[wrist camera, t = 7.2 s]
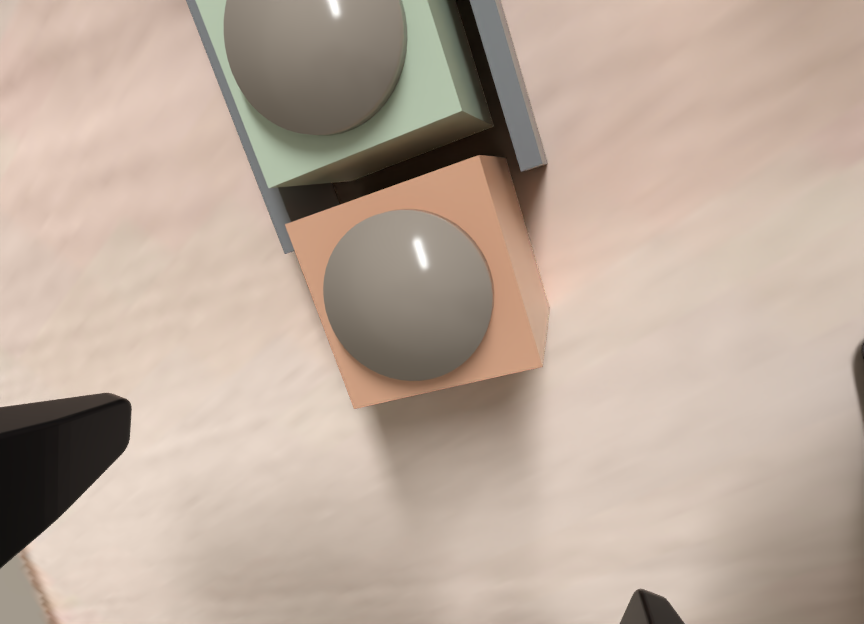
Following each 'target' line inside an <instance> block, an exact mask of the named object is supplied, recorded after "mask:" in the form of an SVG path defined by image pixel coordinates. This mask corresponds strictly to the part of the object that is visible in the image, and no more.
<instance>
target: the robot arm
mask: <svg viewBox="0 0 864 624" xmlns="http://www.w3.org/2000/svg"><path fill="white" fill-rule="evenodd" d="M862 352H863V358H864V343H863V345H862ZM131 410H132V407H131V403H130V402H129V401H128V400H127V399H125V398H123V397H120V396H117V395H114V394H111V393H101V394H94V395H86V396H79V397H72V398H65V399H57V400H50V401H43V402H36V403H28V404H21V405H14V406H7V407H0V568H2V567H3V566H4V565H5V564H6V563H7V562H8V561H10V560H11V559H12V558H13V557H14V556H16V555H17V554H18V553H19V552H20V551H21V550H23V549H24V548H25V547H26V546H27V545H28V544H30V543H31V542H32V541H33V540H34V539H35V538H37V537H38V536H39V535H40V534H41V533H42V532H44V531H45V530H46V529H47V528H48V527H49V526H50V525H51V524H53V523H54V522H55V521H56V520H57V519H58V518H59V517H60V516H61V515H62V514H63V513H64V512H65V511H66V510H67V509H68V508H69V507H70V506H71V505H72V504H73V503H74V502H75V501H76V500H77V499H78V498H79V497H80V496H81V495H82V494H83V493H84V492H85V491H86V490H87V489H88V488H89V487H90V486H91V485H92V484H93V483H94V482H95V481H96V480H97V479H98V478H99V477H100V476H101V475H102V474H103V473H104V472H105V471H106V470H107V469H108V468H109V467H110V466H111V465H112V464H113V463H114V462H115V460H116V459H117V458H118V457H119V456H120V455H121V454H122V453H123V452H124V451H125V449H126V447H127V445H128V443H129V440H130V427H131ZM620 624H685V623H684V622H683V621H682V619H681V618H680V616H679V615H678V614H677V612H676V611H675V610H674V608H673V607H672V606H671V604H670V603H669V602H668V601H667V599H666V598H664V597H662V596H660V595H657V594H655V593H652V592H649V591H646V590H644V589H638V590H636V591H635V592H634V594H633V596H632V598H631V600H630V602H629V604H628V606H627V609H626V611H625V613H624V615H623V617H622V620H621V622H620Z"/></svg>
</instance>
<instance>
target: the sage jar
mask: <svg viewBox="0 0 864 624" xmlns="http://www.w3.org/2000/svg"><path fill="white" fill-rule="evenodd" d="M195 1H196V3H197V6H198V8H199V11H200V13H201V16H202V19H203V21H204V24H205V26H206V29H207V31H208V34H209V37H210V39H211V42H212V44H213V47H214V49H215V52H216V55H217V57H218V60H219V62H220V65H221V67H222V70H223V73H224V75H225V78H226V80H227V83H228V85H229V88H230V91H231V93H232V96H233V98H234V101H235V103H236V106H237V109H238V111H239V114H240V116H241V119H242V121H243V124H244V127H245V129H246V132H247V134H248V137H249V139H250V142H251V145H252V147H253V150H254V152H255V155H256V157H257V160H258V162H259V165H260V168H261V170H262V173H263V175H264V178H265V180H266V183H267V186H268V188H277V187H289V186H300V185H311V184H323V183H334V182H345V181H353V180H356V179H358V178H361V177H363V176H366V175H369V174H371V173H374V172H376V171H379V170H382V169H384V168H387V167H389V166H392V165H395V164H397V163H400V162H402V161H405V160H408V159H410V158H413V157H416V156H418V155H421V154H423V153H426V152H429V151H431V150H434V149H436V148H439V147H442V146H444V145H447V144H449V143H452V142H455V141H457V140H460V139H462V138H465V137H468V136H470V135H473V134H475V133H478V132H481V131H483V130H486V129H488V128H491V127H494V125H493V121H492V118H491V115H490V112H489V108H488V105H487V102H486V98H485V95H484V92H483V89H482V85H481V82H480V79H479V76H478V72H477V69H476V66H475V63H474V59H473V56H472V53H471V49H470V46H469V43H468V40H467V36H466V33H465V30H464V27H463V23H462V20H461V17H460V14H459V10H458V7H457V4H456V0H195Z"/></svg>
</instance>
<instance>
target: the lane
mask: <svg viewBox="0 0 864 624" xmlns="http://www.w3.org/2000/svg"><path fill="white" fill-rule="evenodd" d="M186 1H187V4H188V6H189V9H190V12H191V14H192V17H193V19H194V22H195V24H196V27H197V30H198V32H199V35H200V37H201V40H202V42H203V45H204V48H205V50H206V53H207V55H208V58H209V60H210V63H211V66H212V68H213V71H214V73H215V76H216V78H217V81H218V84H219V86H220V89H221V91H222V94H223V96H224V99H225V102H226V104H227V107H228V109H229V112H230V114H231V117H232V119H233V122H234V125H235V127H236V130H237V132H238V135H239V137H240V140H241V143H242V145H243V148H244V150H245V153H246V155H247V158H248V161H249V163H250V166H251V168H252V171H253V173H254V176H255V179H256V181H257V184H258V186H259V189H260V191H261V194H262V197H263V199H264V202H265V204H266V207H267V209H268V212H269V215H270V217H271V220H272V222H273V225H274V227H275V230H276V232H277V235H278V238H279V240H280V243H281V245H282V248H283V250H284V253H285V254H287V253H290V252H293V251H295V250H294V248H293V245H292V242H291V240H290V237H289V234H288V232H287V229H286V226H285V224H287V223H290V222H293V221H296V220H299V219H301V218H304V217H307V216H310V215H313V214H315V213H318V212H321V211H324V210H327V209H329V208H332V207H335V206H338V205H340V204H339V201H338V198H337V195H336V193H335V190H334V187H333V184H332V183H323V184H311V185H300V186H289V187H277V188H268V186H267V183H266V180H265V178H264V175H263V173H262V170H261V168H260V165H259V162H258V160H257V157H256V155H255V152H254V150H253V147H252V145H251V142H250V139H249V137H248V134H247V132H246V129H245V127H244V124H243V121H242V119H241V116H240V114H239V111H238V109H237V106H236V103H235V101H234V98H233V96H232V93H231V91H230V88H229V85H228V83H227V80H226V78H225V75H224V73H223V70H222V67H221V65H220V62H219V60H218V57H217V55H216V52H215V49H214V47H213V44H212V42H211V39H210V37H209V34H208V31H207V29H206V26H205V24H204V21H203V19H202V16H201V13H200V11H199V8H198V6H197V3H196V1H195V0H186ZM470 3H471V6H472V10H473V13H474V16H475V20H476V23H477V26H478V30H479V33H480V36H481V40H482V43H483V46H484V50H485V53H486V57H487V60H488V63H489V67H490V70H491V73H492V77H493V80H494V83H495V87H496V90H497V93H498V97H499V100H500V103H501V107H502V110H503V113H504V117H505V120H506V123H507V127H508V130H509V133H510V137H511V140H512V143H513V147H514V150H515V153H516V157H517V160H518V163H519V167H520V170H521V171H526V170H531V169H534V168H537V167H540V166H542V165H545V164H548V163H547V159H546V156H545V152H544V149H543V145H542V142H541V138H540V135H539V132H538V128H537V125H536V121H535V118H534V114H533V111H532V107H531V104H530V100H529V97H528V94H527V90H526V87H525V83H524V80H523V76H522V73H521V69H520V66H519V62H518V59H517V56H516V52H515V49H514V45H513V42H512V38H511V35H510V31H509V28H508V24H507V21H506V18H505V14H504V11H503V7H502V4H501V0H470Z"/></svg>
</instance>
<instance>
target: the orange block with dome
mask: <svg viewBox="0 0 864 624" xmlns="http://www.w3.org/2000/svg"><path fill="white" fill-rule="evenodd" d="M285 226H286V229H287V232H288V234H289V237H290V240H291V242H292V245H293V248H294V250H295V253H296V256H297V258H298V261H299V264H300V266H301V269H302V272H303V274H304V277H305V280H306V282H307V285H308V288H309V290H310V293H311V295H312V298H313V301H314V303H315V306H316V309H317V311H318V314H319V317H320V319H321V322H322V325H323V327H324V330H325V333H326V335H327V338H328V341H329V343H330V346H331V349H332V351H333V354H334V357H335V359H336V362H337V365H338V367H339V370H340V373H341V375H342V378H343V381H344V383H345V386H346V389H347V391H348V394H349V397H350V399H351V402H352V405H353V407H354V409H357V408H361V407H366V406H370V405H375V404H379V403H384V402H388V401H393V400H397V399H401V398H406V397H410V396H415V395H419V394H424V393H428V392H433V391H437V390H442V389H446V388H450V387H455V386H459V385H464V384H468V383H473V382H477V381H482V380H486V379H490V378H495V377H499V376H504V375H508V374H513V373H517V372H522V371H526V370H530V369H535V368H539V367H543V360H544V352H545V344H546V336H547V328H548V319H549V311H550V307H549V303H548V300H547V297H546V293H545V290H544V286H543V283H542V280H541V276H540V273H539V269H538V266H537V263H536V259H535V256H534V252H533V249H532V246H531V242H530V239H529V235H528V232H527V229H526V225H525V222H524V218H523V215H522V211H521V208H520V205H519V201H518V198H517V194H516V191H515V188H514V184H513V181H512V177H511V174H510V171H509V167H508V164H507V160H506V158H505V157H495V156H484V155H478V156H475V157H472V158H469V159H466V160H464V161H461V162H458V163H455V164H452V165H450V166H447V167H444V168H441V169H438V170H436V171H433V172H430V173H427V174H424V175H422V176H419V177H416V178H413V179H410V180H408V181H405V182H402V183H399V184H397V185H394V186H391V187H388V188H385V189H383V190H380V191H377V192H374V193H371V194H369V195H366V196H363V197H360V198H357V199H355V200H352V201H349V202H346V203H343V204H341V205H338V206H335V207H332V208H329V209H327V210H324V211H321V212H318V213H315V214H313V215H310V216H307V217H304V218H301V219H299V220H296V221H293V222H290V223H287V224H285Z"/></svg>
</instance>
